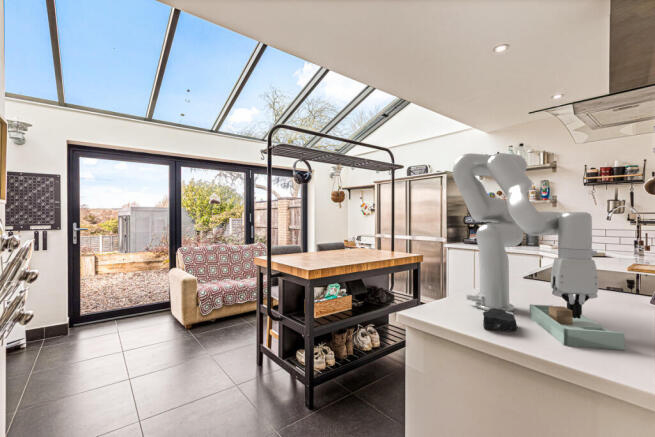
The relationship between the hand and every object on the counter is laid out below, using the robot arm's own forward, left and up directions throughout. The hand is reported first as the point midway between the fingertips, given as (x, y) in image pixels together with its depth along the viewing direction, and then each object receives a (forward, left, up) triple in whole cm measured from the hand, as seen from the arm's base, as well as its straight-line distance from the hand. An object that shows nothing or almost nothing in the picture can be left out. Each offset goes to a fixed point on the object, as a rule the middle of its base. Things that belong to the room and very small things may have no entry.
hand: (574, 316), depth 86 cm
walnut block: (-4, -1, -1) cm, 4 cm away
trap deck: (-1, 0, -4) cm, 4 cm away
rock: (-19, -2, -5) cm, 20 cm away
